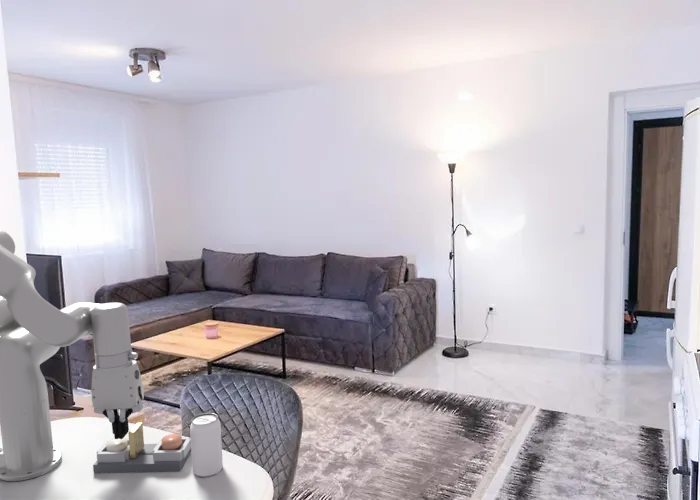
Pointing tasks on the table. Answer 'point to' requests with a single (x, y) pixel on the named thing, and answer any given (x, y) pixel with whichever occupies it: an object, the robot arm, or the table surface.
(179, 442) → the terracotta button
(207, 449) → the can
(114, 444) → the cream button
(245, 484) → the table surface
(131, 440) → the thick plank
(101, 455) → the panel
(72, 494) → the table surface
